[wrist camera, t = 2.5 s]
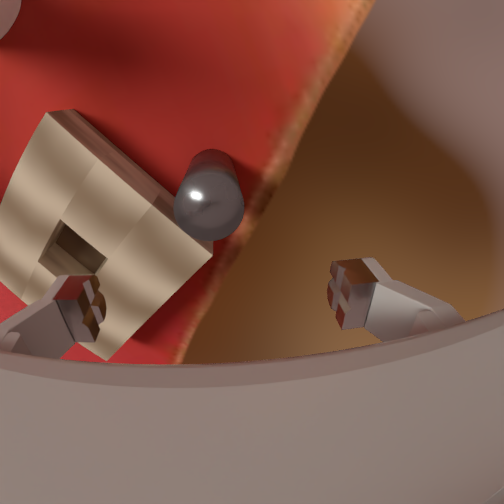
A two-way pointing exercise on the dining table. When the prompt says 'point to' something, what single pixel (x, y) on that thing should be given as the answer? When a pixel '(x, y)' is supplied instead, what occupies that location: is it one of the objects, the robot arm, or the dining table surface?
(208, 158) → the pin
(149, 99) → the dining table surface
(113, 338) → the socket block
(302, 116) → the dining table surface
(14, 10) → the cylindrical container
